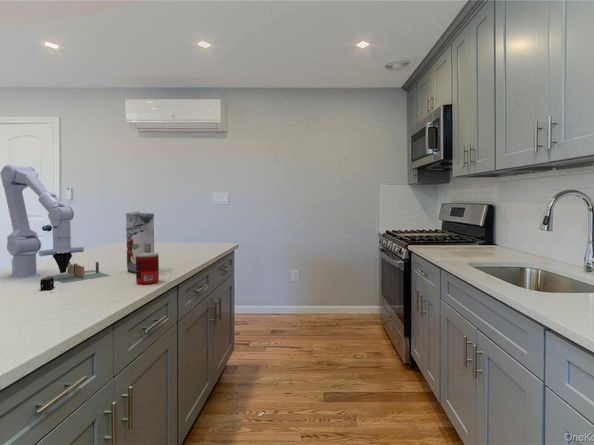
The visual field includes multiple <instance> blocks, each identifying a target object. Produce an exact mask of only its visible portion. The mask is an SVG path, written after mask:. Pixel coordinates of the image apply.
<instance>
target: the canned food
mask: <svg viewBox="0 0 594 445" xmlns="http://www.w3.org/2000/svg"><path fill="white" fill-rule="evenodd" d="M159 257H160V256H159V253H157V252H154V253H139V254H136V274H135V276H136V278H135V280H136V285H140V286H148V285H154V284H157V283H158V282H159V280H160V278H159V277H160V275H159V274H160V272H159V271H160V269H159V268H160V266H159V264H160V263H159V262H160V261H159V260H160V259H159Z"/></svg>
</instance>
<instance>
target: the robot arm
mask: <svg viewBox="0 0 594 445" xmlns="http://www.w3.org/2000/svg"><path fill="white" fill-rule="evenodd" d="M0 178H1V182H2V187H3V189H4V194H5V200H6V203H7V204H6V205H7V209H8V213H9V218H10V223H11V226H12V232H11V233H10V234H8V236H7V237H6V240H7V244H6V250H7V252H8V253H9V254H10V256H12V259H11V273H12V274H9V275H8V276H9V277H11V278H12V279H15V280H18V279H26V278H32V277H33V278H35V277H40V276H41V274H39V273H38V270H37V254H38V256H39V257H45V256H52V258H53V259H54V260H55V263H56V264H57V267H58V270H59V273H60V274H66V273H67V266H68V263H69V262H71V259H72V257H73V254H77V253H84V252H85V248H84V247H83V246H79V247H78V246H77V247H76V246H75V247H72V237H71V236H72V235H71V234H72V233H71V232H72V231H71V221H72V220H73V219H74V217H75V216H74V215H75V214H74V210H73V208H72V207H71V206H69V205H68V206H67V205H66V204H64V203H63V201H61V200H60V198H58V197H57V194H56V193H54V192H51V191H48V190H47V188H46V186H45V185H44V184H43V183H42V181H41V180H40V178H39V173H38V172H37V170H36V169H35V168H34V167H32V166H20V165H11V164H6V165H4V166H3V168H2V169H1V171H0ZM28 187H29V188H30V189H31V190H32V191H33V192H34V193H35V194H36V196H38V202H39V203H40V204H41V205H42V206H43V208H44V209H45V210H46V211H47V212H48V213H47V217H48V219H49V221H50V225H51V227H52V249H43V250H41V249H42V248H41V247H42V242H41V239H40V238H39V236H38V233H37V232H36V231H34V230H32V229H31V227H30V223H29V217H28V213H27V208H26V203H25V199H24V195H23V191H24V190H25V189H28Z"/></svg>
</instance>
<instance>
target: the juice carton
mask: <svg viewBox="0 0 594 445" xmlns="http://www.w3.org/2000/svg"><path fill="white" fill-rule="evenodd" d="M154 217H155V214H154V213H152V212H151V213H145V212H140V210H139V209H138V210H137V209H135V210H131V212H129V213H128V212H127V213H125V218H126V219H125V221H126V226H125V227H126V234H125V235H126V267H127V268H126V269H127V272H128V273H131V274H135V275H136V254H139V253H155V228H154V227H155V224H154V223H155V222H154V221H155V218H154Z"/></svg>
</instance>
